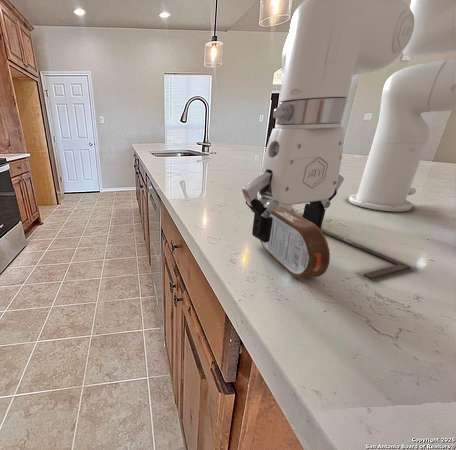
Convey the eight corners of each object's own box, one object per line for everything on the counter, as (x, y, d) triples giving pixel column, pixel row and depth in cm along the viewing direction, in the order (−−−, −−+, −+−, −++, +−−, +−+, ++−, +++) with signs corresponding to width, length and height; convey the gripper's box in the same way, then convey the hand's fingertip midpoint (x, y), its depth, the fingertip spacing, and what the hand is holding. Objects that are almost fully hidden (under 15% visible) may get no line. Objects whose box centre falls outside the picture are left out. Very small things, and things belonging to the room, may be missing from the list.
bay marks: (299, 220, 56) (299, 219, 56) (410, 267, 37) (411, 266, 37) (268, 226, 54) (268, 225, 54) (370, 279, 35) (370, 277, 35)
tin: (324, 289, 34) (339, 233, 30) (302, 291, 33) (315, 235, 30) (268, 240, 47) (274, 199, 44) (252, 242, 47) (257, 200, 44)
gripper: (274, 117, 27) (255, 254, 33) (386, 113, 31) (349, 235, 38) (234, 119, 33) (225, 232, 40) (331, 116, 38) (308, 218, 44)
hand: (285, 233), depth 39 cm, fingers open, 9 cm apart
